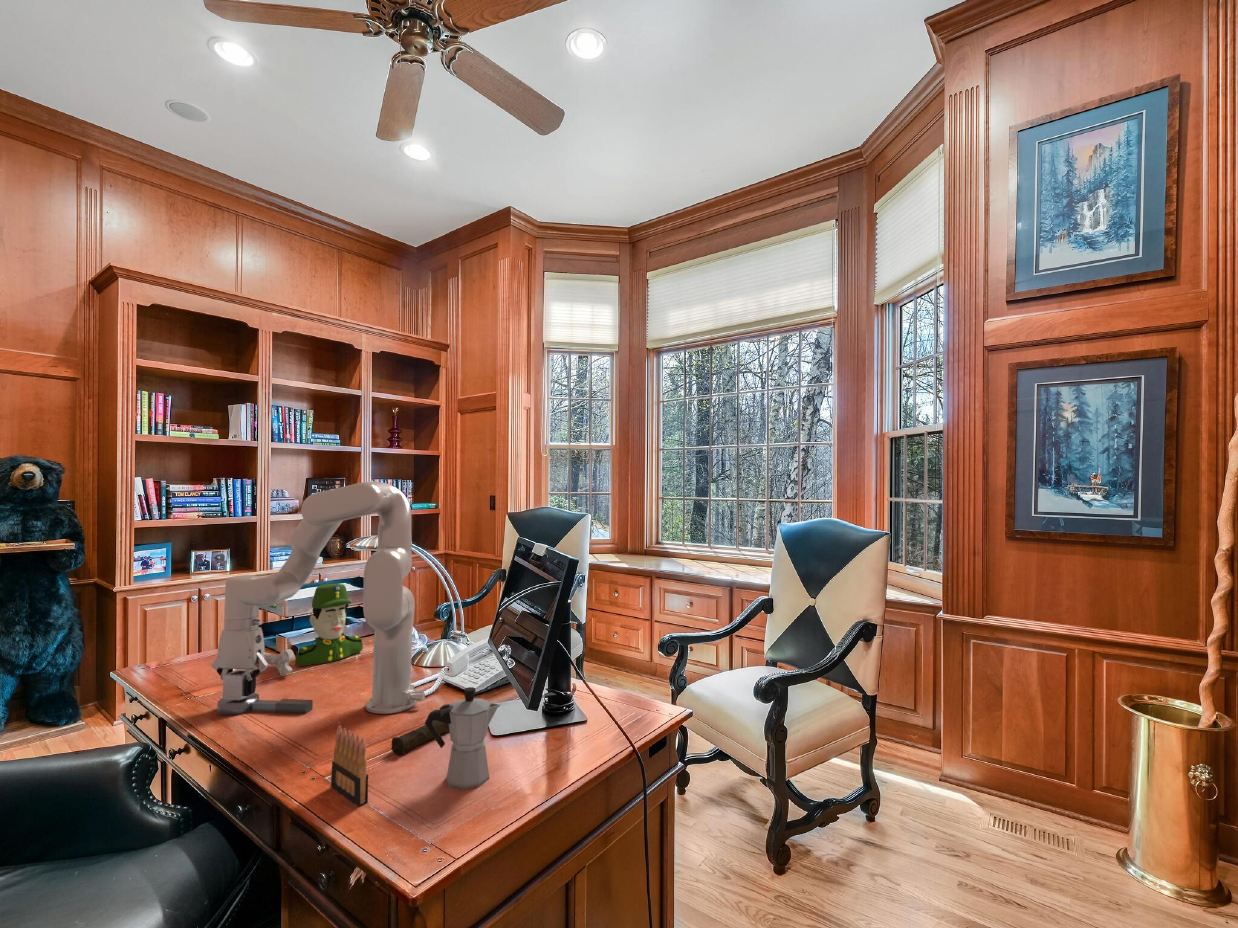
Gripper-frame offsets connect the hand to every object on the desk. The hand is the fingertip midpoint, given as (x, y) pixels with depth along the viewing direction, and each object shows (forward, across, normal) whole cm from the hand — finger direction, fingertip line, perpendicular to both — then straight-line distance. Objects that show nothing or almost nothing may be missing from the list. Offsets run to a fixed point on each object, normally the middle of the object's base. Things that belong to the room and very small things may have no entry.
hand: (239, 693), depth 148 cm
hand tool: (+5, -55, +12) cm, 57 cm away
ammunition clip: (+4, -49, +36) cm, 61 cm away
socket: (+1, 0, 0) cm, 1 cm away
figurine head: (+4, -1, -41) cm, 41 cm away
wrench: (+4, +12, -30) cm, 33 cm away
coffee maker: (+4, -69, +29) cm, 75 cm away
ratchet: (+4, -7, 0) cm, 8 cm away
